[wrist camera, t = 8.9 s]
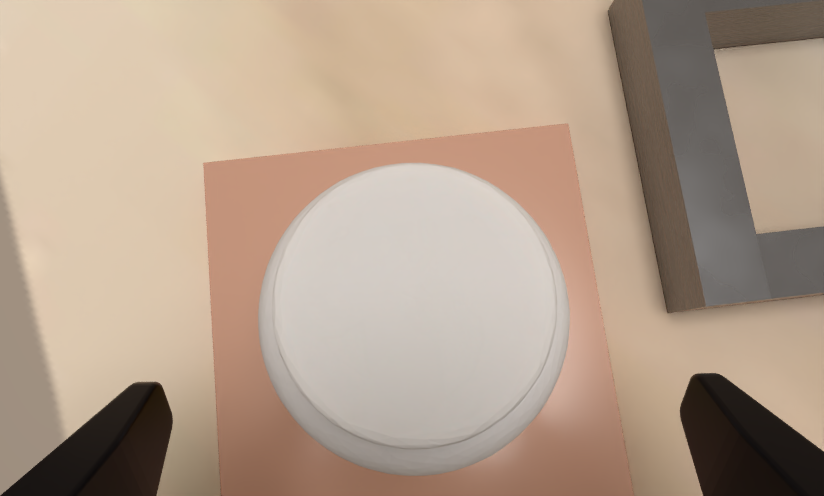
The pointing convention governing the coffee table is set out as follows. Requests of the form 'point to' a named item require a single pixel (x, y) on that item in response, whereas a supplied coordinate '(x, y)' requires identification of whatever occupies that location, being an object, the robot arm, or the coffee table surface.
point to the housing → (707, 150)
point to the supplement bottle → (413, 319)
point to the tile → (288, 442)
